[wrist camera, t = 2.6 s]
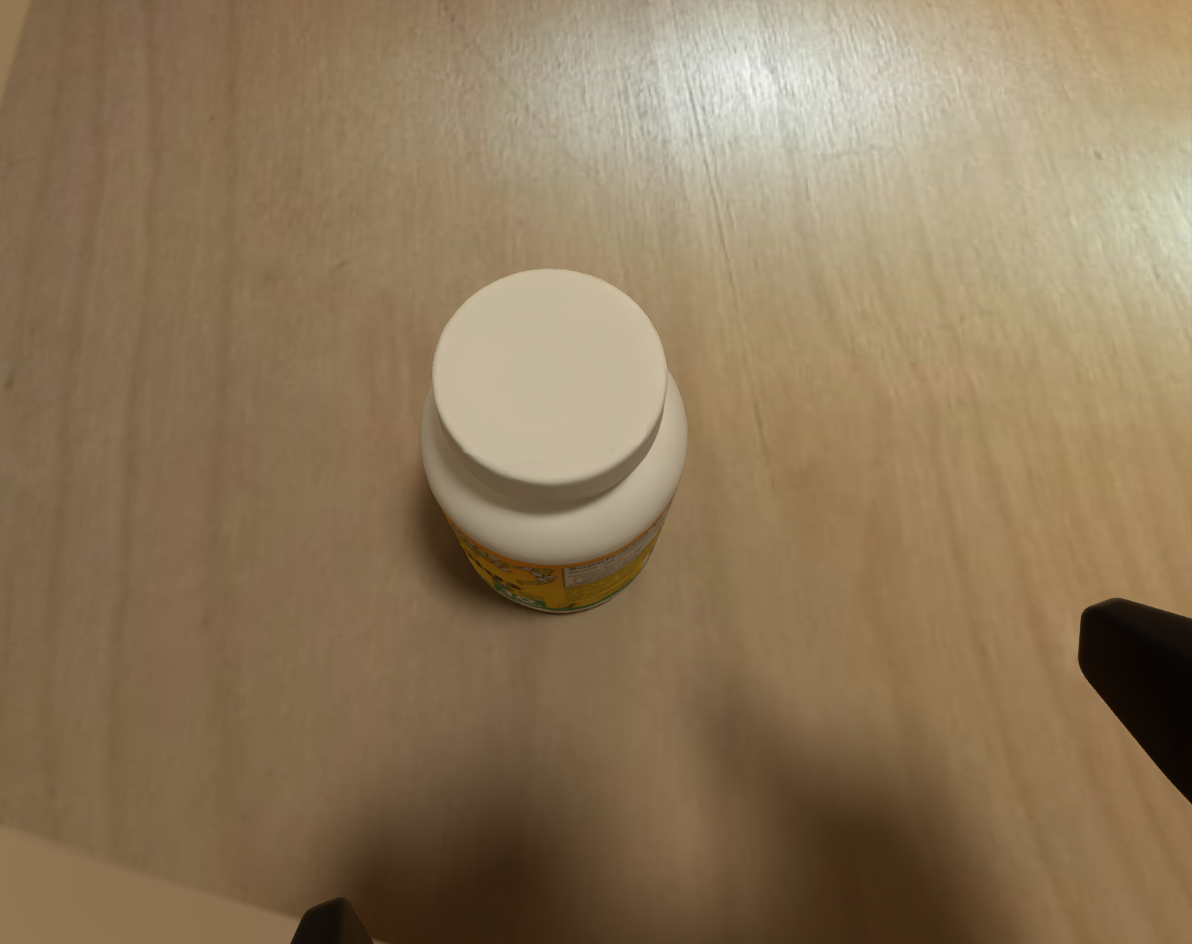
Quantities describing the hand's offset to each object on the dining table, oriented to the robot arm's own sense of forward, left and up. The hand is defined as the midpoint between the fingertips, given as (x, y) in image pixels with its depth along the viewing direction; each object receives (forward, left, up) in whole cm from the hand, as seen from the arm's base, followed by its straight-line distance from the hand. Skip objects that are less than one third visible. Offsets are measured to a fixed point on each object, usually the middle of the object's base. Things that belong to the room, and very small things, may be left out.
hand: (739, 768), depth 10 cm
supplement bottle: (+5, +4, -13) cm, 14 cm away
